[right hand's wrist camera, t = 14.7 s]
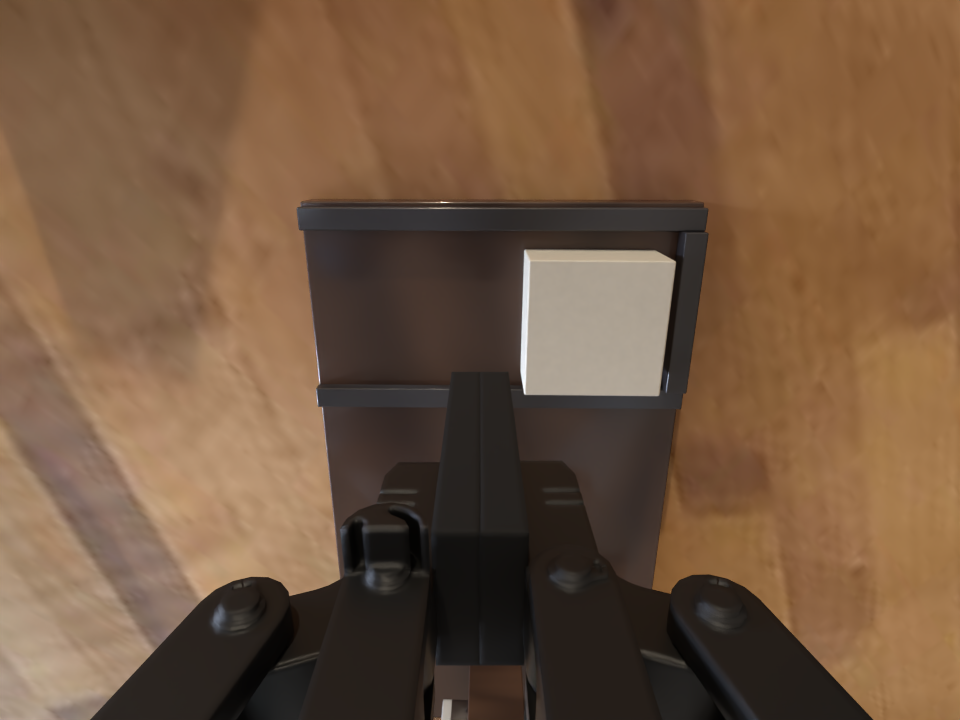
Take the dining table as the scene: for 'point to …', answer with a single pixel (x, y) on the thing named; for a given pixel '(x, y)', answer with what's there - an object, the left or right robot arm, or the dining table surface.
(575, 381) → the slider
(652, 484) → the slider board
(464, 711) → the left robot arm
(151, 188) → the dining table surface
